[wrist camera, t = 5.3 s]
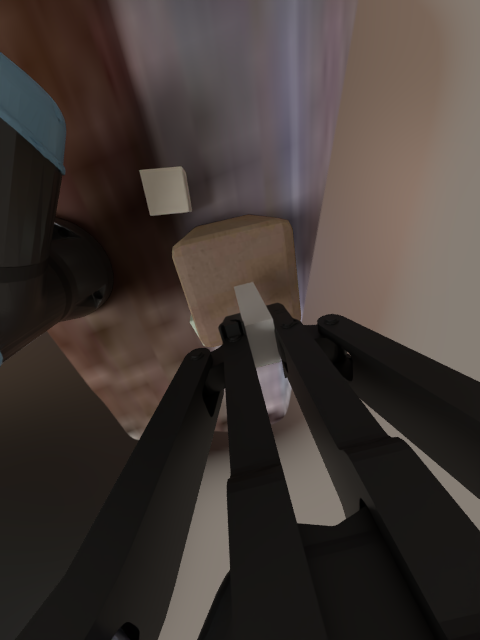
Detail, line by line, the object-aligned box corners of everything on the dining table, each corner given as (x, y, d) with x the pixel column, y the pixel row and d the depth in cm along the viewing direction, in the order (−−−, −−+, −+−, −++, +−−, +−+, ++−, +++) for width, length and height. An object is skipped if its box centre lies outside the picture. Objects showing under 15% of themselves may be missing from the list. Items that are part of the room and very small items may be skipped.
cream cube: (158, 215, 34) (150, 215, 30) (149, 175, 32) (139, 170, 27) (192, 211, 34) (189, 211, 30) (185, 172, 32) (181, 166, 28)
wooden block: (264, 275, 40) (305, 329, 22) (207, 288, 40) (202, 353, 22) (253, 212, 35) (295, 215, 17) (190, 227, 35) (165, 246, 17)
